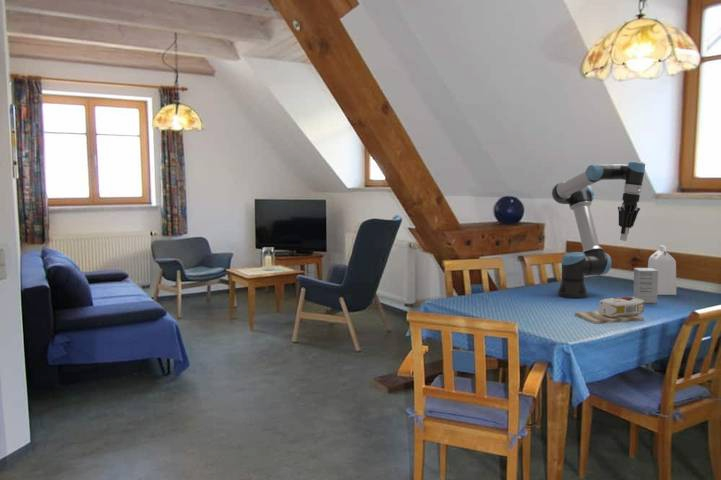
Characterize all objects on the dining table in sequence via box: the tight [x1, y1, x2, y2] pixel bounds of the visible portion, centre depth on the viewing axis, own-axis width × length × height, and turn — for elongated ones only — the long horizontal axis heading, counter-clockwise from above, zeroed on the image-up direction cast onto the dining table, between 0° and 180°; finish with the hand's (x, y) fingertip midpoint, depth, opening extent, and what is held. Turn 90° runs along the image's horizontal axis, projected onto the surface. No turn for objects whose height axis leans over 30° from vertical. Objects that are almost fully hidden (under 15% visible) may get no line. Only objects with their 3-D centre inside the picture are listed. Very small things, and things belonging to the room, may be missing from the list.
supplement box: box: [632, 267, 658, 304], centre depth 286 cm, size 10×9×17 cm
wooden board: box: [574, 310, 645, 324], centre depth 255 cm, size 24×16×1 cm, turn 100°
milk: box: [647, 244, 677, 296], centre depth 306 cm, size 12×12×26 cm
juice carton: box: [598, 296, 645, 317], centre depth 255 cm, size 8×9×19 cm
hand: (623, 240), depth 277 cm, fingers closed
